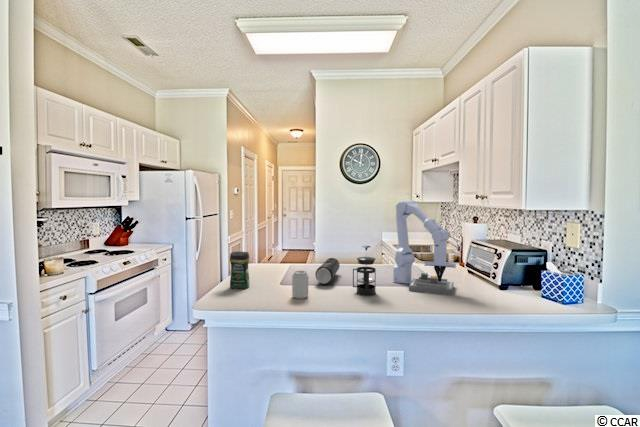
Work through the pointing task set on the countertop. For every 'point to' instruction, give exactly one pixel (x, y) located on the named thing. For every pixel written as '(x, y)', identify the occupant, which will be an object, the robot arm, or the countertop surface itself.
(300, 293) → the can
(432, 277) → the breaker toggle
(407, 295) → the countertop surface
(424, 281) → the block
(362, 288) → the french press
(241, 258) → the coffee jar
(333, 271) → the dark thermos flask
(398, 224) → the robot arm
